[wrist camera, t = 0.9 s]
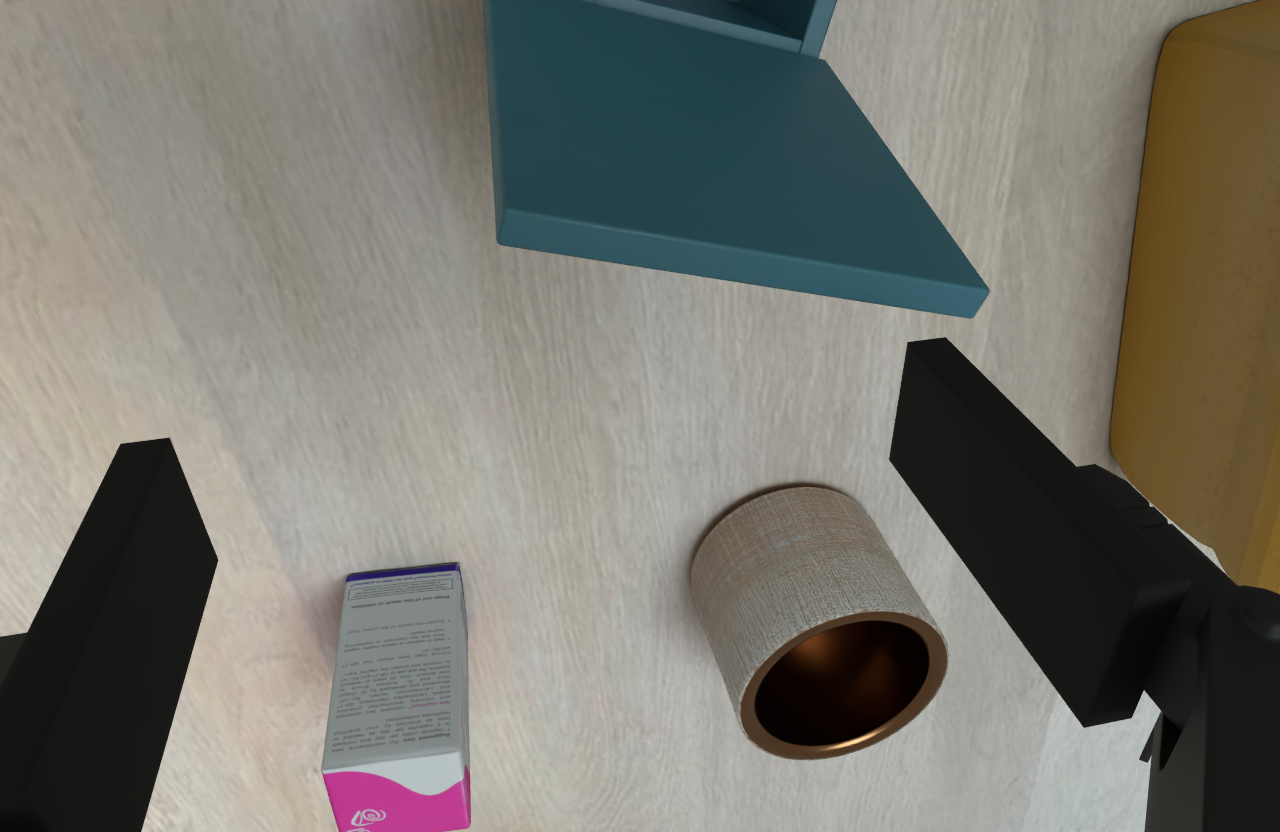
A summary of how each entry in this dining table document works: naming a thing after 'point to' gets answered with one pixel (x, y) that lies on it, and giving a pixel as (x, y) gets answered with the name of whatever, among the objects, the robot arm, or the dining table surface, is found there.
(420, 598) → the supplement box
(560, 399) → the dining table surface
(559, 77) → the lid
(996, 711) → the dining table surface
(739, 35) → the caddy
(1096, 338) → the dining table surface
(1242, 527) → the bread
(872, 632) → the planter
